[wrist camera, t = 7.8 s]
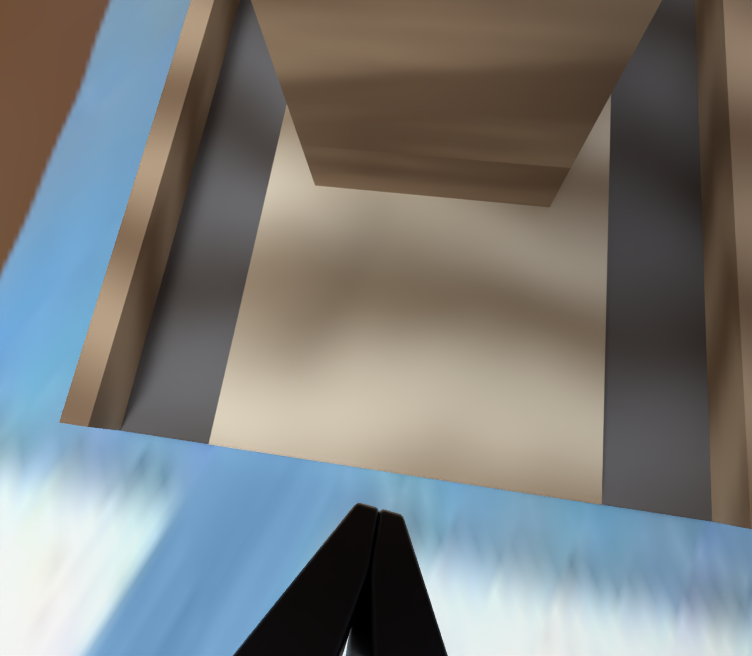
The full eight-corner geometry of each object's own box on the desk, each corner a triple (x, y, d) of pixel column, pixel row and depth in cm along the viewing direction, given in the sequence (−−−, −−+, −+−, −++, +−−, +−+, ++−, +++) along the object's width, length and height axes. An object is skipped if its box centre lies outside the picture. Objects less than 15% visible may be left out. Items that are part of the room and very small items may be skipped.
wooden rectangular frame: (742, 526, 15) (806, 538, 13) (97, 427, 18) (45, 420, 15) (713, -64, 22) (752, -133, 19) (244, -80, 24) (225, -143, 21)
